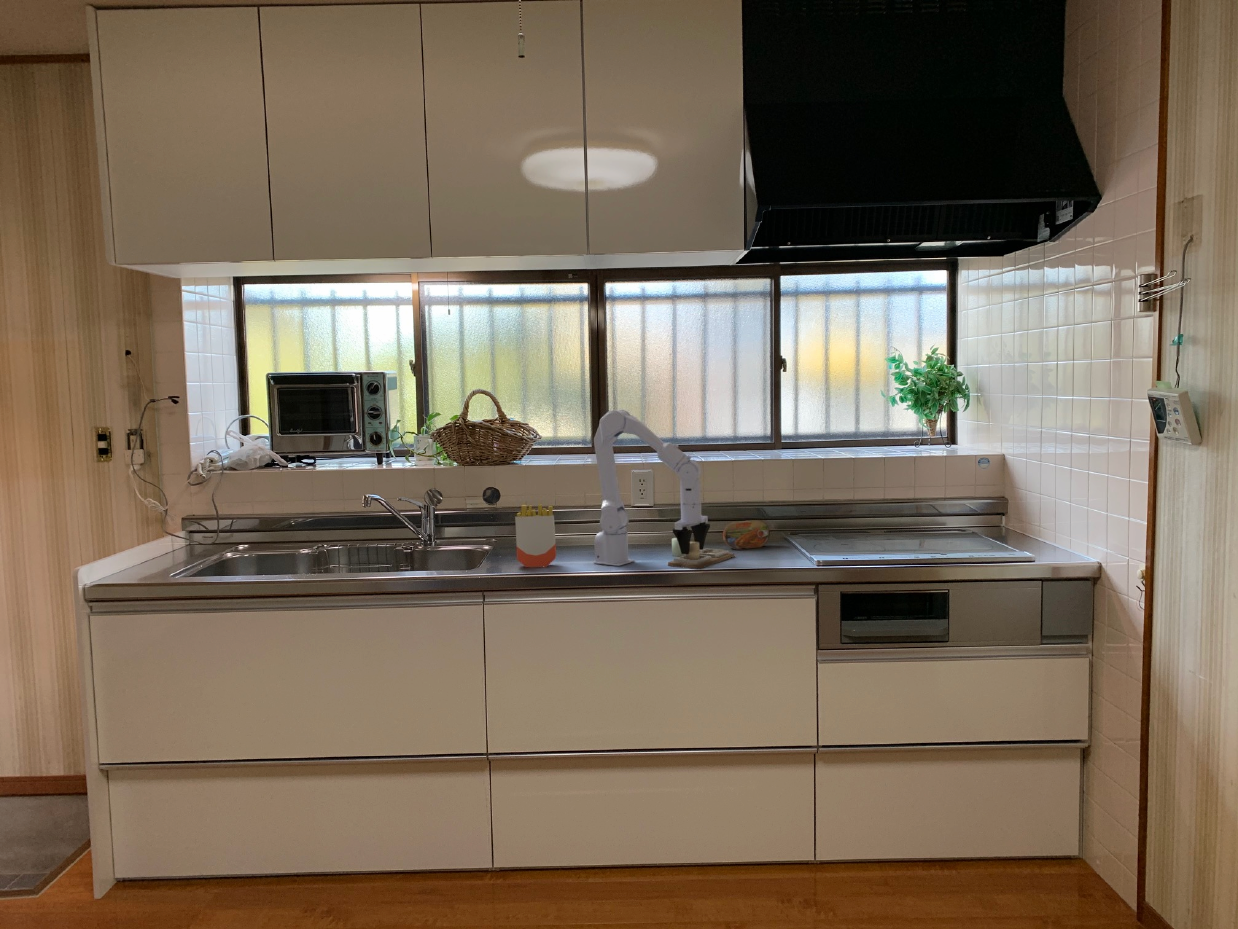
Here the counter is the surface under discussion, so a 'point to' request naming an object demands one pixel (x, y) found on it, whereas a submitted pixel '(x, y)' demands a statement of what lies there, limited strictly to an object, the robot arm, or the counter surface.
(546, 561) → the french fries container
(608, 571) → the counter surface
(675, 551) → the sage peg
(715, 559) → the board
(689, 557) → the ash peg
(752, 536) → the tin
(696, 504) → the robot arm
